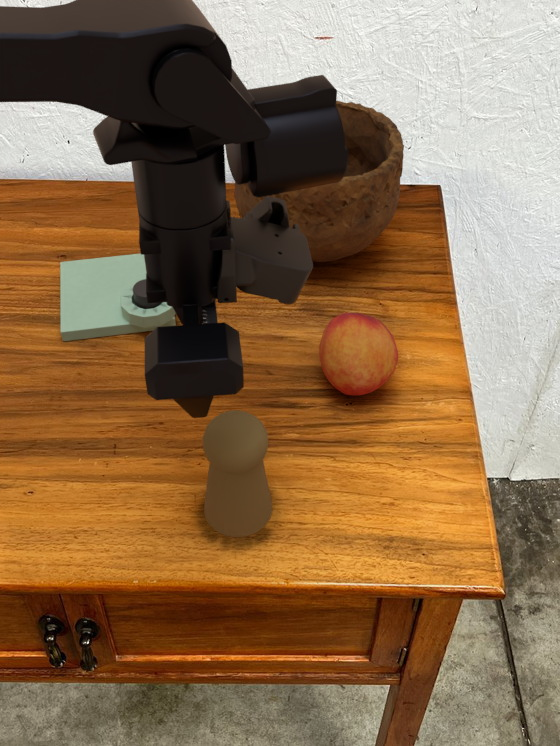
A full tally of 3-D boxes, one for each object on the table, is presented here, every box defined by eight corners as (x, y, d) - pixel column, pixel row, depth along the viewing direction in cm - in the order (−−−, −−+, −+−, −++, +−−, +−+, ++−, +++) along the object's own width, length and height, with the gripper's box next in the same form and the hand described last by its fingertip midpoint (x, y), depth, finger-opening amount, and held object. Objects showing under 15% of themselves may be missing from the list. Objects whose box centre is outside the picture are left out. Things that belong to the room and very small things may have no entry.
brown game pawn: (235, 468, 71) (231, 387, 63) (286, 503, 68) (289, 423, 60) (189, 511, 68) (179, 431, 60) (241, 550, 65) (238, 472, 57)
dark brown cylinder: (135, 311, 82) (133, 298, 80) (133, 292, 84) (131, 280, 82) (164, 307, 82) (162, 295, 81) (161, 289, 84) (159, 277, 83)
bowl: (391, 205, 100) (406, 96, 90) (390, 300, 88) (408, 186, 77) (247, 195, 102) (245, 86, 91) (225, 287, 89) (220, 172, 78)
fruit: (402, 365, 81) (413, 307, 75) (379, 419, 75) (389, 362, 70) (330, 344, 82) (336, 286, 77) (303, 396, 77) (307, 338, 71)
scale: (62, 347, 82) (57, 327, 79) (62, 271, 90) (57, 250, 88) (181, 333, 83) (178, 312, 81) (169, 259, 92) (167, 239, 90)
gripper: (329, 289, 44) (315, 457, 56) (288, 126, 57) (283, 289, 68) (131, 302, 43) (158, 470, 55) (135, 133, 56) (156, 297, 67)
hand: (196, 372), depth 61 cm, fingers open, 9 cm apart
